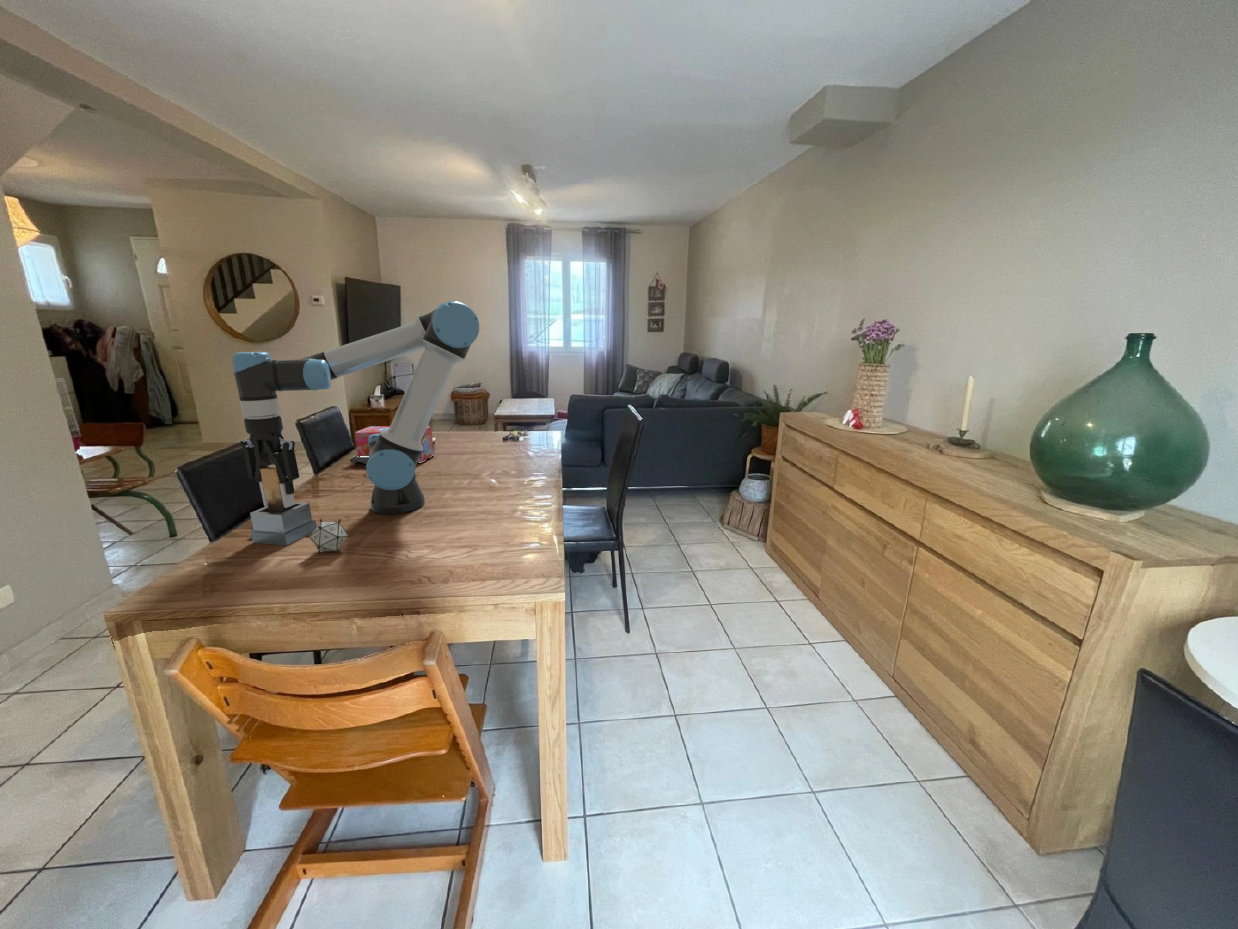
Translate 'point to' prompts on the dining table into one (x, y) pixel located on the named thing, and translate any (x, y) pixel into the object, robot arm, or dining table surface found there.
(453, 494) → the dining table surface
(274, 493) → the gold metallic cylinder
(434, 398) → the robot arm
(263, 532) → the open rectangular container
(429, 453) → the box
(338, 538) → the game die
